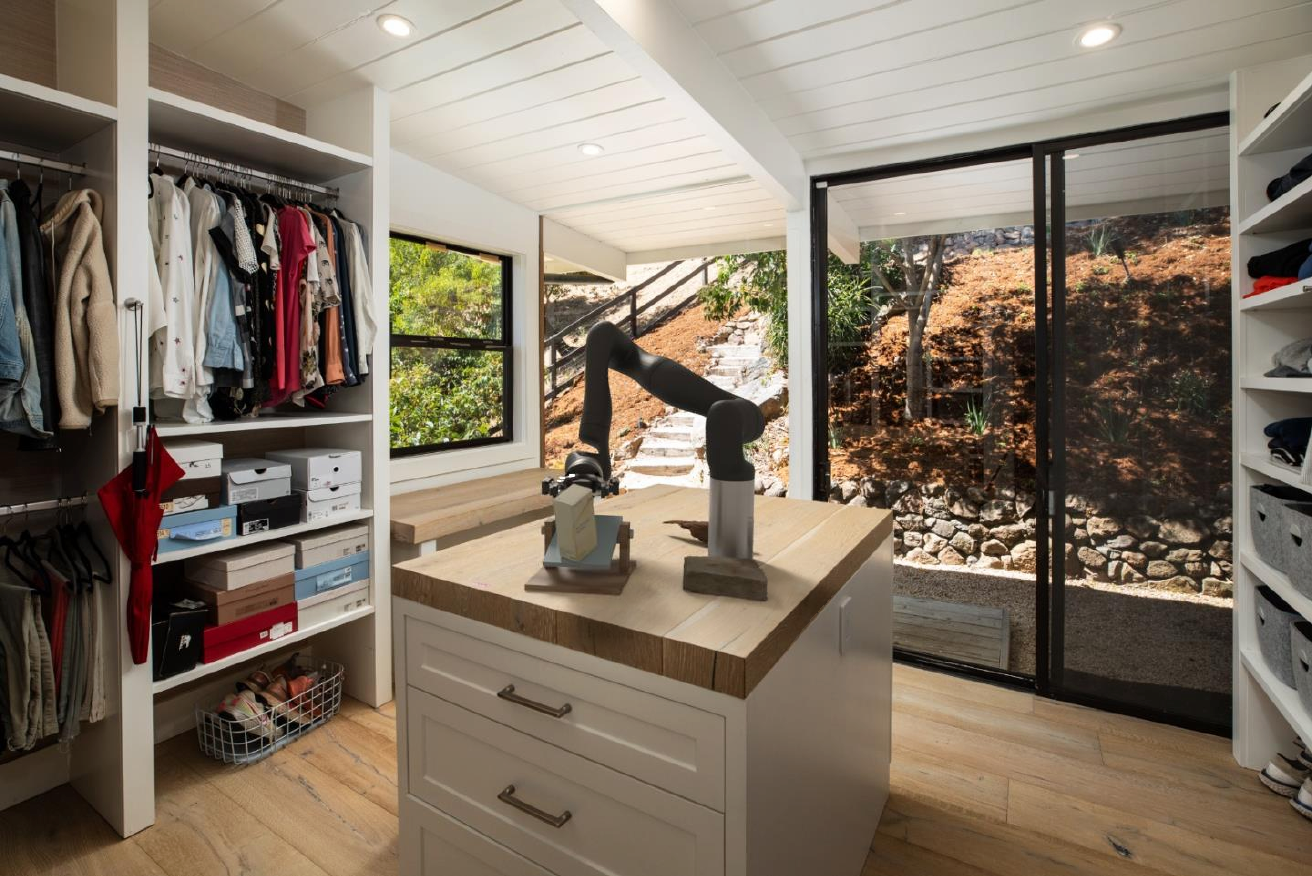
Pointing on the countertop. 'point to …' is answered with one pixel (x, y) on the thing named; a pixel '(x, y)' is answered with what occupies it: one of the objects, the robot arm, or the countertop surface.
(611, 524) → the trapdoor flap
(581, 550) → the skincare box
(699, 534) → the bird sculpture
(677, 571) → the countertop surface
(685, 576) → the grey brown flat block
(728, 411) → the robot arm
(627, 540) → the frame
